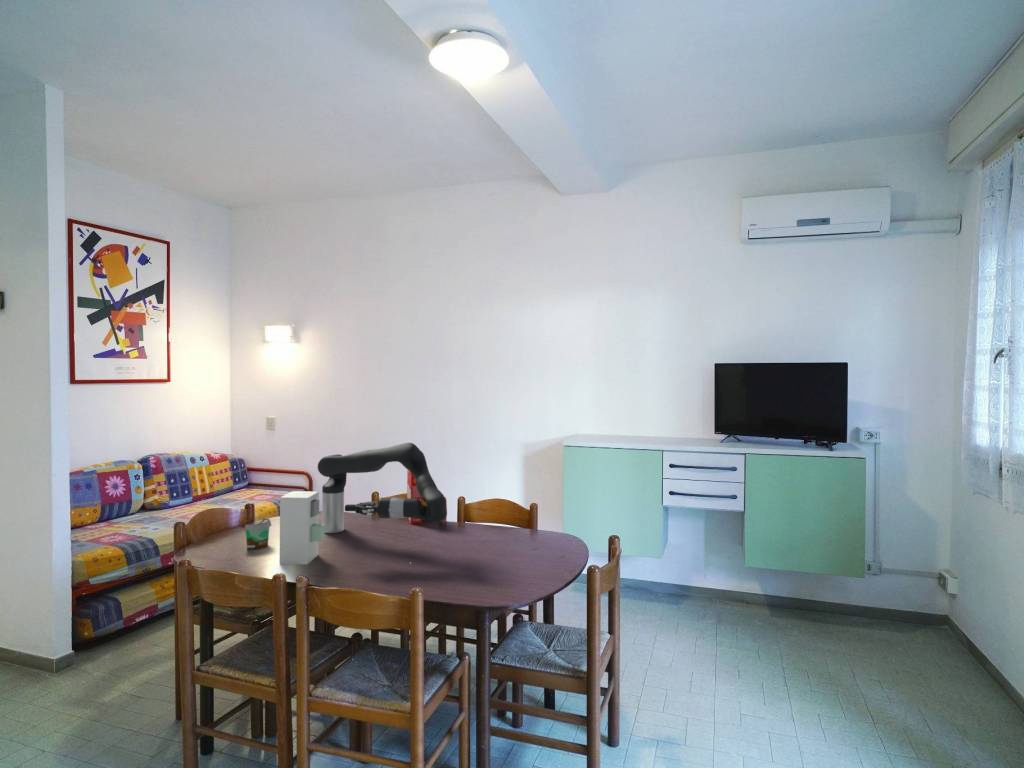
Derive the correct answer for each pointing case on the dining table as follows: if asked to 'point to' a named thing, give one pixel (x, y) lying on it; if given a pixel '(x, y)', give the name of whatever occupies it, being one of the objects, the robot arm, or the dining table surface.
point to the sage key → (317, 532)
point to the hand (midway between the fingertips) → (345, 507)
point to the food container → (257, 534)
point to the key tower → (297, 528)
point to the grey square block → (314, 507)
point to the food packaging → (413, 494)
